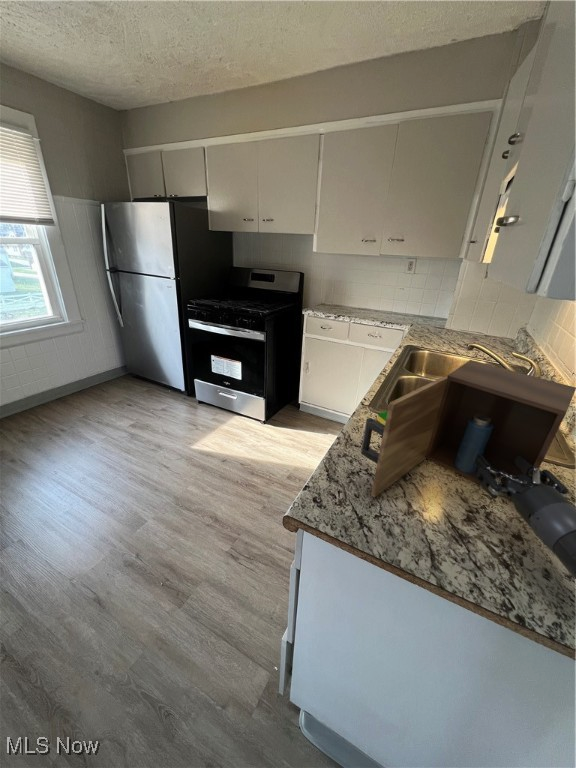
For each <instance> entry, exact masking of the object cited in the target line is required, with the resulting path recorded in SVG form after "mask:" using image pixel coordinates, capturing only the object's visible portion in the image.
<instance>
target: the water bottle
mask: <svg viewBox="0 0 576 768" xmlns="http://www.w3.org/2000/svg"><path fill="white" fill-rule="evenodd" d="M490 422H491V419H490V418H489V417H488V416H486V415H482V414H475V416H474V417H473V418H469V420H468V423H467V426H466V428H465V431H464V434H463V437H462V440H461V443H460V446H459V449H458V452H457V455H456V458H455V461H454V465H455V467H456V468H457V469H458V470H460V471H462V472H464V473H468V474H473V473H476V472H477V469H478V467H477V466H476V465H475V459H476V457H477V455H482V456H483V453H484V451H485V448H486V446H487V443H488V440H489V438H490V435H491V432H492V430H493V424H492V423H490Z"/></svg>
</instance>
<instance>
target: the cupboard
mask: <svg viewBox="0 0 576 768" xmlns="http://www.w3.org/2000/svg"><path fill="white" fill-rule="evenodd" d="M446 377H448V380H447V383H446V387H445V390H444V394H443V397H442V401H441V404H440V408H439V411H438V415H437V418H436V422H435V425H434V429H433V432H432V436H431V439H430V443H429V447H428V450H427V454H426V457H425V460H428V461H430V462H433V463H435V464H437V465H438V466H441V467H442V468H445V469H447V470H449V471H451V472H453V473H455V474H456V475H459V476H461V477H463V478H465V479H467V480H469V481H471V482H473V483H475V484H477V485H480V486H481V487H482V485H481V484H480V483H479V482H478V481H477V479H476V478H475V476H476V474H477V472H476V473H473V474H468V473H464V472H462V471H460V470H458V469H457V468H456V467H455V465H454V461H455V458H456V455H457V452H458V449H459V446H460V443H461V440H462V437H463V434H464V431H465V428H466V426H467V423H468V420H469V418H473V417H474V416H475V414H482V415H486V416H488V417H489V418H490V419H491V422H490V423H492V424H493V430H492V432H491V435H490V438H489V440H488V443H487V446H486V448H485V451H484V453H483V457H484V458H485V459H486V460H487V461H488V462H489V464H490V465H491V467H493V468H495V469H497V470H504V471H506V472H508V473H510V474H514V475H525V474H524V473H523V472H522V471H521V470H520V469H519V468H518V467H517V466H516V465H515V460H516V458H517V456H522V457H523V458H524V459H525V460H527V461H528V462H529V463H530V464H531V465H532V466H533V467H536V468H538V469H539V470H540V468H541V466H542V463H543V461H544V460H545V457H546V455H547V454H548V451H549V449H550V447H551V445H552V443H553V441H554V438H555V437H556V435H557V433H558V431H559V429H560V426H561V424H562V422H563V420H564V418H565V416H566V414H567V412H568V410H569V408H570V406H571V402H572V400H573V397H574V395H575V392H576V387H575V386H571V385H568V384H564V383H560V382H556V381H552V380H549V379H545V378H541V377H538V376H535V375H530V374H526V373H522V372H518V371H514V370H510V369H507V368H503V367H499V366H496V365H492V364H488V363H484V362H481V361H477V360H473V359H469V360H468V361H466V362H465V363H463V364H462V365H461V366H458V368H456V369H455V370H453V371H452V372H451V373H449V374H447V376H446ZM477 471H478V469H477ZM490 475H491V476H493V477H495V478H496V475H495V474H494V473H492V472H491V474H490ZM526 476H528V475H526ZM505 480H506V478H505V477H502V479H501V483H502V484H504V483H505ZM501 496H502V497H504V498H505V499H508V500H510V501H512V500H511V499H510V498H509V497H507V496H506V495H501Z"/></svg>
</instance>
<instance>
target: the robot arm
mask: <svg viewBox="0 0 576 768" xmlns="http://www.w3.org/2000/svg"><path fill="white" fill-rule="evenodd" d="M475 465H476V466H477V467H478V471H477V474H476V476H475V478H476V479H477V481H478V482H479V483H480V484H481V485H482V486H481V485H480V486H481V487H482V488H483V489H484V491H485V492H487V494H488V495H489V496H490V497H491V498H492V499H497V498H498V497H499V496H502V495H506V496H507V497H509V498H510V499H511V500H510V499H509V500H510V501H512V502H513V505H514V509H515V511H516V512H517V513H518V515H519V516H520V517H521V518H522V519H523V520H524V522H525V523H526V524H527V525H528V526H529V528H530V529H531V530H532V531H533V533H534V534H535V535H536V536H537V538H538V539H539V540H540V541H541V542H542V543H543V544H544V546H545V547H547V549H549V550H550V551H551V552H552V553H553V555H555V558H557V559H558V560H559V562H560V563H561V564H562V565H563V567H564V568H565V569H566V571H568V573H569V574H570V575H571V576H572V577H573V578H574V579H575V580H576V506H574V505H573V504H572V503H571V502H570V501H569V500H568V499H567V498H566V496H567V494H568V492H569V489H568V487H566V486H565V484H564V483H563V482H562V481H560V479H559V478H558V477H557V476H555V475H554V474H553V473H552V472H551V470H548V469H545V468H544V469H542V470H540V468H539V469H538V468H536V467H533V466H532V465H531V464H530V463H529V462H528V461H527V460H525V459H524V458H523V457H522V456H517V458H516V460H515V465H516V466H517V467H518V468H519V469H520V470H521V471H522V472H523V473H524V474H525V475H514V474H510V473H508V472H506V471H504V470H497V469H495V468H493V467H491V465H490V464H489V462H488V461H487V460H486V459H485V458H484V457H483V456H482V455H477V457H476V459H475ZM491 472H492V473H494V474H495V475H496V478H495V477H493V476H491V475H490V474H491ZM526 475H528V476H526ZM502 477H505V478H506V480H505V483H504V484H502V483H501V479H502Z"/></svg>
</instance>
